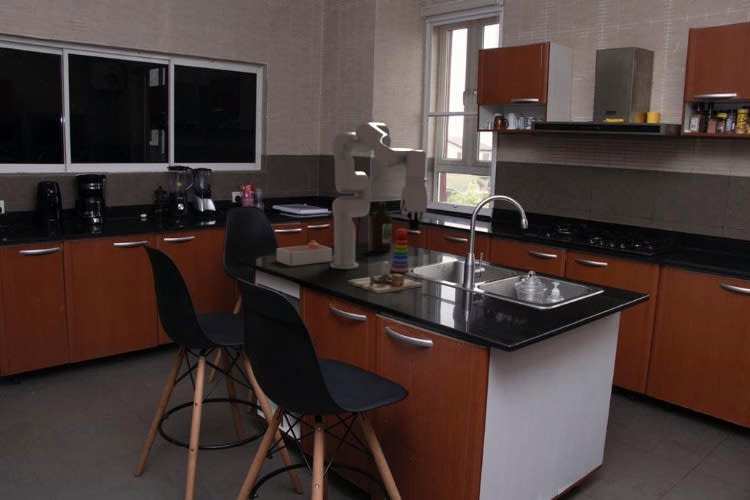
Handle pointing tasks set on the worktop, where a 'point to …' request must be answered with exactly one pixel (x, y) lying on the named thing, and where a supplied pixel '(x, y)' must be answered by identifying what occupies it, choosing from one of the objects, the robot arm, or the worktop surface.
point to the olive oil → (381, 229)
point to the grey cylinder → (384, 273)
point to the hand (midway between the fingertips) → (413, 229)
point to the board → (383, 285)
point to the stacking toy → (400, 253)
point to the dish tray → (303, 255)
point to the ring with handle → (391, 280)
